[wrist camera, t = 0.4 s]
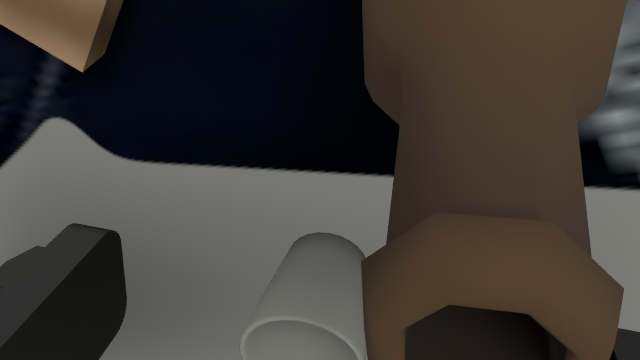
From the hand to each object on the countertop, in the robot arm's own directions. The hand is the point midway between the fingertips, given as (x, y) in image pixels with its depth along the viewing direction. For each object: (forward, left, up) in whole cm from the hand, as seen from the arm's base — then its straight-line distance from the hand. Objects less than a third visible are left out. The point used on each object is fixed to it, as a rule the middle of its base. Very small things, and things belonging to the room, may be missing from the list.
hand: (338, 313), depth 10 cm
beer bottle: (-2, +2, -23) cm, 23 cm away
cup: (+22, +7, -23) cm, 32 cm away
